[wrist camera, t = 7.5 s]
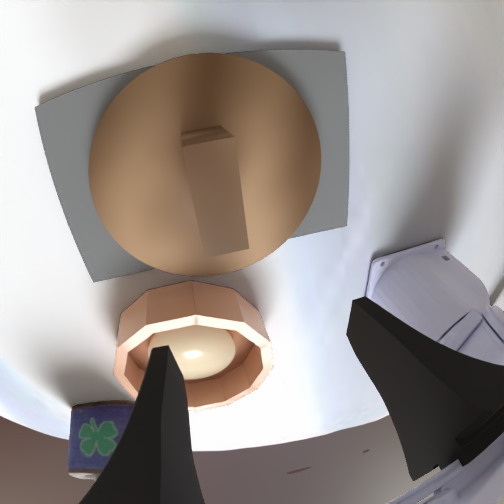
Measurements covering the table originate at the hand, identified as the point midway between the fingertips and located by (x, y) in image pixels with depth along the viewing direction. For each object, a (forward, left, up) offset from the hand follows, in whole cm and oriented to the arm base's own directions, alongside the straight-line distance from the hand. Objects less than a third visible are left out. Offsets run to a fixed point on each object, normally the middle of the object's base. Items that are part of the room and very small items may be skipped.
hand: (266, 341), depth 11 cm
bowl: (+5, +9, -10) cm, 14 cm away
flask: (+18, +18, -10) cm, 27 cm away
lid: (+1, -4, -9) cm, 10 cm away
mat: (+1, -5, -10) cm, 11 cm away
